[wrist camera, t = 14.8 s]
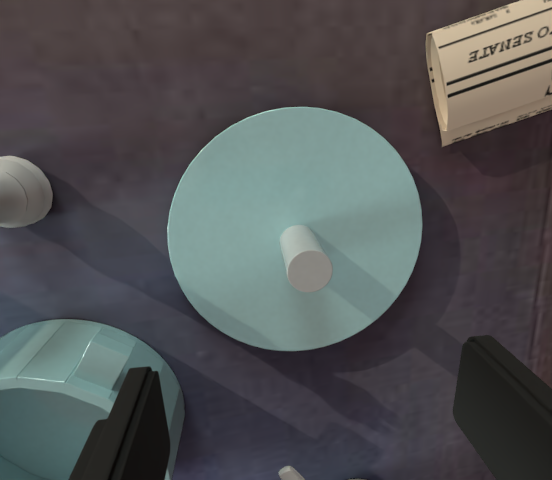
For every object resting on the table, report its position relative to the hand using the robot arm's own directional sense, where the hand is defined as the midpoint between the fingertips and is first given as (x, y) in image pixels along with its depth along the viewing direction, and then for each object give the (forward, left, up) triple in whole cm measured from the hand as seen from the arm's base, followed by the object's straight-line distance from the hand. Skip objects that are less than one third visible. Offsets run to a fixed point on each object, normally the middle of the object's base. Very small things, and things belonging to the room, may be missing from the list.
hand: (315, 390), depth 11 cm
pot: (+5, -21, -16) cm, 27 cm away
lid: (+1, +1, -15) cm, 15 cm away
